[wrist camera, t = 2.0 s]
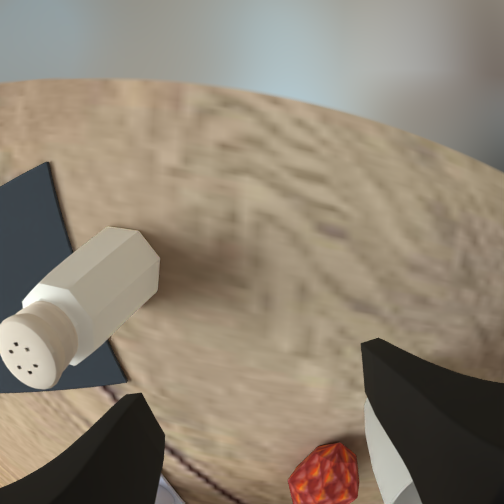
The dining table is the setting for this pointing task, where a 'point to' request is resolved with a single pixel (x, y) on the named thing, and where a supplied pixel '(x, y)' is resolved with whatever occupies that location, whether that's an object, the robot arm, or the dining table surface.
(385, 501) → the cup
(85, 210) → the dining table surface
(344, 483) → the decorative stone
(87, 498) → the robot arm
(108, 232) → the salt shaker
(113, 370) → the mat
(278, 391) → the dining table surface
